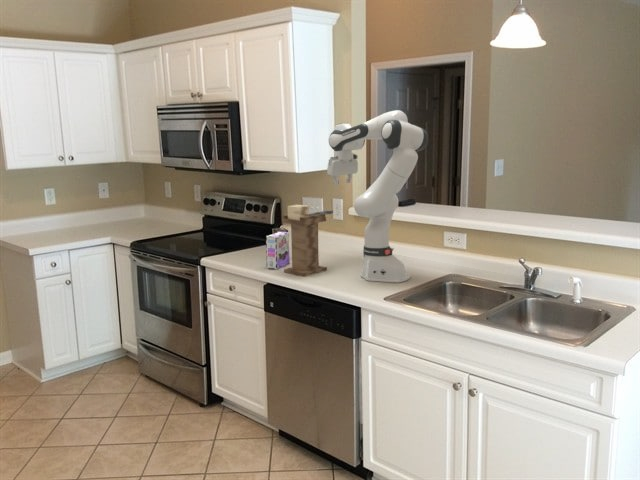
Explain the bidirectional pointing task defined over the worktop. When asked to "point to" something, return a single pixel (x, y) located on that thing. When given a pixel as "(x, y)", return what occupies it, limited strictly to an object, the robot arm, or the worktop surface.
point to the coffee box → (279, 230)
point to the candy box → (277, 250)
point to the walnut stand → (305, 245)
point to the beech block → (303, 212)
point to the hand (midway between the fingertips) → (342, 183)
